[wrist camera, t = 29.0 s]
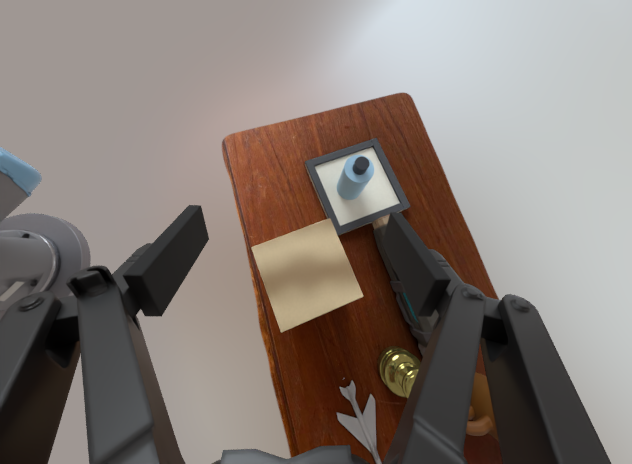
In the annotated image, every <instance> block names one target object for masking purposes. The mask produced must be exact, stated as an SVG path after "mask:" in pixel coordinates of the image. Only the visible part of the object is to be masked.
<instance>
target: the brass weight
mask: <svg viewBox="0 0 632 464" xmlns="http://www.w3.org/2000/svg"><path fill="white" fill-rule="evenodd" d="M420 364H421V362H420V361H419V360H418V358H417V357H416V356H414V355H413V354H411V353H410V352H409V351H407V350H405V349H403V348H401V347H399V346H390V347H388V348H386V349H384V350H383V351H382V353H381V354H380V356H379V358H378V362H377V369H378V373H379V376H380V378H381V379H382V380H383V382H384V383H385V385H386V386H387V387H388V388H389V390H390V391H391V392H392V393H394V394H395V395H397V396H399V397H403V398H407V399H408V397H409V394H410V392H411V389H412V386H413V384H414V381H415V378H416V375H417V373H418V370H419V367H420Z"/></svg>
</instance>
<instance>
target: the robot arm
mask: <svg viewBox="0 0 632 464" xmlns="http://www.w3.org/2000/svg"><path fill="white" fill-rule="evenodd" d="M41 179H42V178H41V175H40V173H39V172H38V171H37V170H36V169H35V168H33V167H32V166H30V165H29V164H27V163H26V162H24V161H23V160H21V159H19V158H18V157H16V156H14V155H13V154H11V153H10V152H8V151H6V150H4V149H3V148H1V147H0V222H1V221H2V220H3V219H4V218H6V216H8V215H9V214H10V213H11V212H12V211H13V210H14V209H15V208H16V207H17V206H19V204H21V203H22V202H23V201H24V200H25V199H26V198H27V197H29V196H31V192H32V191H33V190H34V189H35V188H36V187H37V186H38V184H39V183H40V182H41ZM208 240H209V238H208V233H207V229H206V225H205V221H204V217H203V213H202V208H201V206H197V205H194V206H193V205H189V206H188V207H187V208H186V209H185V210H184V211H183V212H182V213H181V214H180V215H179V216H178V217H177V219H176V220H175V221H174V222H173V223H172V224H171V225H170V226H169V227H168V228H167V229H166V230H165V231H164V232H163V233H162V234H161V235H160V236H159V237H158V238H157V239H156V240H155V242H154V243H153V244H150V243H149V244H146V245H144V246H142V247H141V248H139V249H137V250H136V251H135V252H134V253H133V254H132V256H131V257H129V259H127V260H126V262H124V263H123V264H122V265H121V266H120V267H119V268H118V269H117V270H116V271H115V272H114V273H113V274H112V275H111V273H110V271H109V270H108V268H107V267H105V266H92V267H88V268H85V269H83V270H80V271H78V272H76V273H75V274H73V275H72V276H71V277H69V278H68V279H67V282H66V285H67V286H68V288H69V289H70V290H71V291H72V293H73V294H74V295H73V296H68V297H63V298H57V296H56V295H55V294H54V293H53V292H50V291H48V290H49V289H50V288H51V287H52V285H53V284H54V282H55V280H56V278H57V276H58V274H59V270H60V264H61V258H60V253H59V250H58V248H57V246H56V244H55V243H54V242H53V241H52V240H51V239H50V238H49V237H47V236H45V235H43V234H40V233H37V232H32V231H26V230H4V231H0V311H3V310H7V311H6V312H5V314H4V315H3V317H2V318H1V320H0V464H48V460H49V457H50V453H51V450H52V446H53V444H54V440H55V437H56V434H57V430H58V427H59V424H60V420H61V417H62V413H63V410H64V407H65V403H66V400H67V397H68V393H69V390H70V387H71V383H72V380H73V376H74V373H75V370H76V367H77V363H78V360H79V357H80V353H81V361H82V375H83V386H84V400H85V412H86V426H87V439H88V451H89V463H90V464H185V462H184V460H183V458H182V456H181V453H180V450H179V447H178V444H177V441H176V438H175V435H174V431H173V429H172V425H171V422H170V419H169V416H168V412H167V410H166V406H165V403H164V400H163V397H162V394H161V390H160V387H159V384H158V381H157V378H156V374H155V371H154V368H153V365H152V362H151V359H150V355H149V352H148V349H147V346H146V343H145V339H144V336H143V333H142V330H141V327H140V324H139V321H138V318H137V317H136V314H137V313H138V311H139V310H140V309H141V310H142V311H143V313H144V315H145V316H162V314H163V313H164V311H165V310H166V308H167V306H168V305H169V303H170V302H171V300H172V298H173V297H174V295H175V293H176V292H177V290H178V289H179V287H180V285H181V284H182V282H183V280H184V279H185V277H186V276H187V274H188V272H189V271H190V269H191V267H192V266H193V264H194V263H195V261H196V259H197V258H198V256H199V254H200V253H201V251H202V249H203V248H204V246H205V245H206V243H207V241H208ZM382 245H383V247H384V249H385V251H386V253H387V255H388V257H389V259H390V261H391V263H392V265H393V267H394V269H395V271H396V273H397V275H398V277H399V280H400V282H401V284H402V286H403V288H404V290H405V292H406V294H407V296H408V298H409V300H410V302H411V304H412V306H413V308H414V310H415V312H416V314H417V316H418V317H431V316H432V314H433V313H434V311H435V309H436V311H437V313H438V314H439V317H438V318H437V320H436V322H435V324H434V325H433V327H432V329H433V331H432V334H431V337H430V340H429V342H428V345H427V348H426V351H425V353H424V356H423V359H422V362H421V364H420V367H419V370H418V373H417V375H416V378H415V381H414V384H413V386H412V389H411V392H410V394H409V397H408V400H407V403H406V405H405V408H404V411H403V414H402V416H401V419H400V422H399V425H398V427H397V430H396V433H395V436H394V438H393V441H392V444H391V446H390V448H389V450H388V452H387V454H386V456H385V459H384V461H383V463H382V464H468V463H467V461H466V459H465V458H464V455H463V448H464V442H465V435H466V428H467V422H468V415H469V409H470V402H471V396H472V389H473V383H474V376H475V370H476V363H477V357H478V350H479V344H480V345H481V350H482V355H483V361H484V366H485V371H486V377H487V382H488V387H489V392H490V398H491V403H492V408H493V413H494V419H495V424H496V429H497V435H498V440H499V445H500V450H501V456H502V461H503V464H611V462H610V460H609V458H608V456H607V454H606V452H605V450H604V447H603V445H602V443H601V442H600V439H599V437H598V435H597V433H596V431H595V429H594V427H593V425H592V423H591V421H590V418H589V416H588V414H587V412H586V410H585V408H584V406H583V404H582V402H581V400H580V398H579V396H578V394H577V392H576V389H575V387H574V385H573V383H572V381H571V379H570V377H569V375H568V373H567V371H566V369H565V367H564V365H563V362H562V361H561V359H560V356H559V354H558V352H557V350H556V348H555V346H554V344H553V342H552V340H551V338H550V336H549V334H548V331H547V329H546V327H545V325H544V323H543V321H542V319H541V317H540V315H539V313H538V311H537V310H536V308H535V307H534V306H533V305H532V304H531V303H530V302H528V301H527V300H525V299H524V298H521V297H519V296H516V295H511V294H509V295H505V296H504V297H503V298H502V300H496V299H492V298H488V297H485V295H484V294H483V293H482V292H481V291H480V290H479V289H477V288H476V287H474V286H472V285H469V284H464V282H463V281H462V280H461V279H460V277H459V276H458V275H457V274H456V272H455V271H454V270H453V269H452V267H450V265H449V264H448V263H447V262H446V260H445V259H444V258H443V256H442V255H441V254H439V253H438V252H437V251H435V250H434V249H428V248H427V247H426V245H425V244H424V243H423V241H422V240H421V239H420V237H419V236H418V235H417V233H416V232H415V231H414V230H413V228H412V227H411V226H410V224H409V223H408V222H407V220H406V219H405V218H404V216H403V215H402V214H401V213H397V212H390V216H389V219H388V223H387V226H386V230H385V234H384V237H383V241H382ZM212 464H370V463H368V462H367V461H366V460H364V459H362V458H361V457H359V456H357V455H354V454H351V448H350V445H340V446H319V447H317V448H315V449H312V450H310V451H307V452H305V453H302V454H300V455H297V456H295V457H293V458H290V459H284V458H281V457H278V456H275V455H271V454H269V453H266V452H263V451H260V450H257V449H241V450H223V453H222V458H221V460H218V461H216V462H214V463H212Z"/></svg>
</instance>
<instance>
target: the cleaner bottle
mask: <svg viewBox="0 0 632 464" xmlns="http://www.w3.org/2000/svg"><path fill="white" fill-rule="evenodd" d="M373 174H374V166H373V163H372V162H371V160H370V159H368V158H367V157H365V156H363V155H354V156H351V157H350V158H348V159H347V161H346V162H345V165H344V167H343V170H342V173H341V175H340V178H339V180H338V183H337V192H338V194H339V195H340V196H341V197H342V198H344V199H347V200H353V199H355V198H357V197H358V196H359V195H360V193H361V192H362V191H363V189H364V188H365V186H366V185H367V184H368V182H369V181H370V179H371V178H372V176H373Z"/></svg>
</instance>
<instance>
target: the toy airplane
mask: <svg viewBox="0 0 632 464" xmlns="http://www.w3.org/2000/svg"><path fill="white" fill-rule="evenodd" d="M344 379H345V378H344ZM339 388H340V390H341V393H342V395H343V396H344V397H346V398H347V399H348V400H349V401H350V402H351V404H352V407H353V409H354V411H355V414H356V416H357V418H354V417H351V416H348V415H344V414H341V413H338V412H337V417H338V421H339V422H340V423H341V424H342V425H343V426H344V427H345V428H346V429H348V430H349V431H350V432H351V433H352V434H353V435H354V436H355V437H356V438H357V439H358V440H359V441H360V442H361V443H362V444H363V445H364V446H365V447H366V448H367V449H368V450H369V451H370V452H371V453H372V455H373V457H374V460H375V462H376V464H382V462H381V460H380V457H379V455H378V452H377V450H376V414H375V399H374V398H373V396H372V395H371V394H370V397H369V399H368V402H367V404H366V407H365V410H364V412H363V415H362V414H361V412H360V409H359V407H358V404H357V402H356V400H355V391H356V387H355V385H354V382H353V380H352V381H351V384H350V386H347V387H346V388H343V387H339Z"/></svg>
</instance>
